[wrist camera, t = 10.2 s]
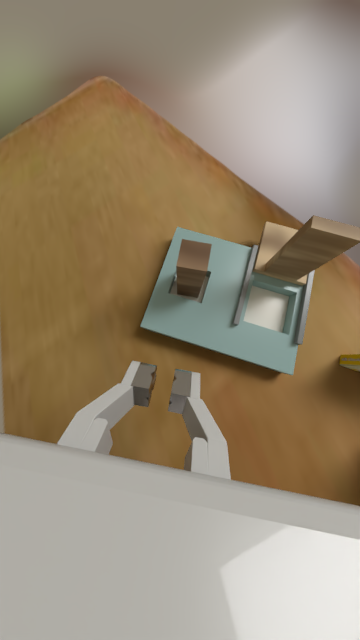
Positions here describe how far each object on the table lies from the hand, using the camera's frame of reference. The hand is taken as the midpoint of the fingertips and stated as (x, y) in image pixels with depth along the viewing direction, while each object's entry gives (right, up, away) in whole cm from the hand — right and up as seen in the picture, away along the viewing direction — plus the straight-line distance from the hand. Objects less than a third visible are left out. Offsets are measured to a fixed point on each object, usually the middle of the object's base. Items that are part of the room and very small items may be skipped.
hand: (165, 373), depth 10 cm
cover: (+18, +14, +16) cm, 28 cm away
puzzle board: (+9, +7, +18) cm, 21 cm away
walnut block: (+2, +9, +17) cm, 19 cm away
